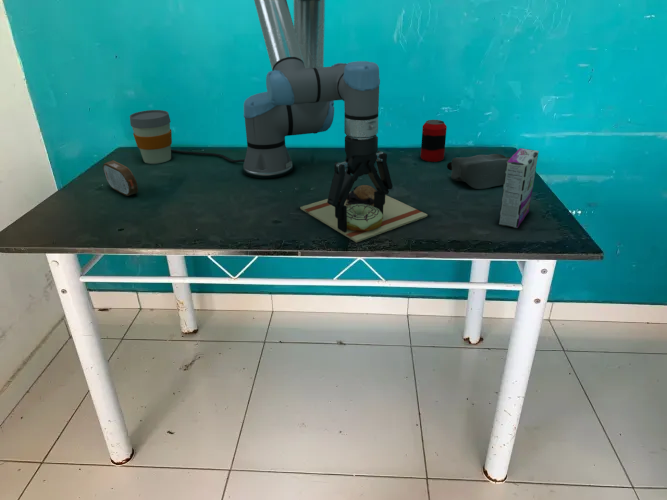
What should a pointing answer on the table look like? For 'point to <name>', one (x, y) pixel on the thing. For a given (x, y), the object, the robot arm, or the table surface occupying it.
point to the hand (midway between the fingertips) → (360, 223)
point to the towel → (392, 210)
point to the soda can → (433, 140)
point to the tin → (120, 178)
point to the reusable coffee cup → (152, 135)
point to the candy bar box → (518, 187)
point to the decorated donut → (363, 217)
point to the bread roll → (361, 196)
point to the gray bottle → (479, 170)
